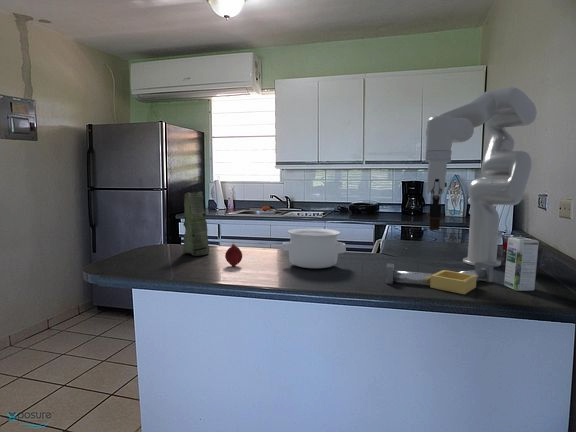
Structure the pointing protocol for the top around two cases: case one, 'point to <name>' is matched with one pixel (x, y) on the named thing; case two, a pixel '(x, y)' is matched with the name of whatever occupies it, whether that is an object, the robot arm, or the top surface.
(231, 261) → the onion
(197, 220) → the pouch
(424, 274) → the shaft
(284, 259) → the top surface
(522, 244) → the syrup box
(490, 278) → the shaft
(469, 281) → the yoke socket
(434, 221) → the bolt
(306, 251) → the pot
